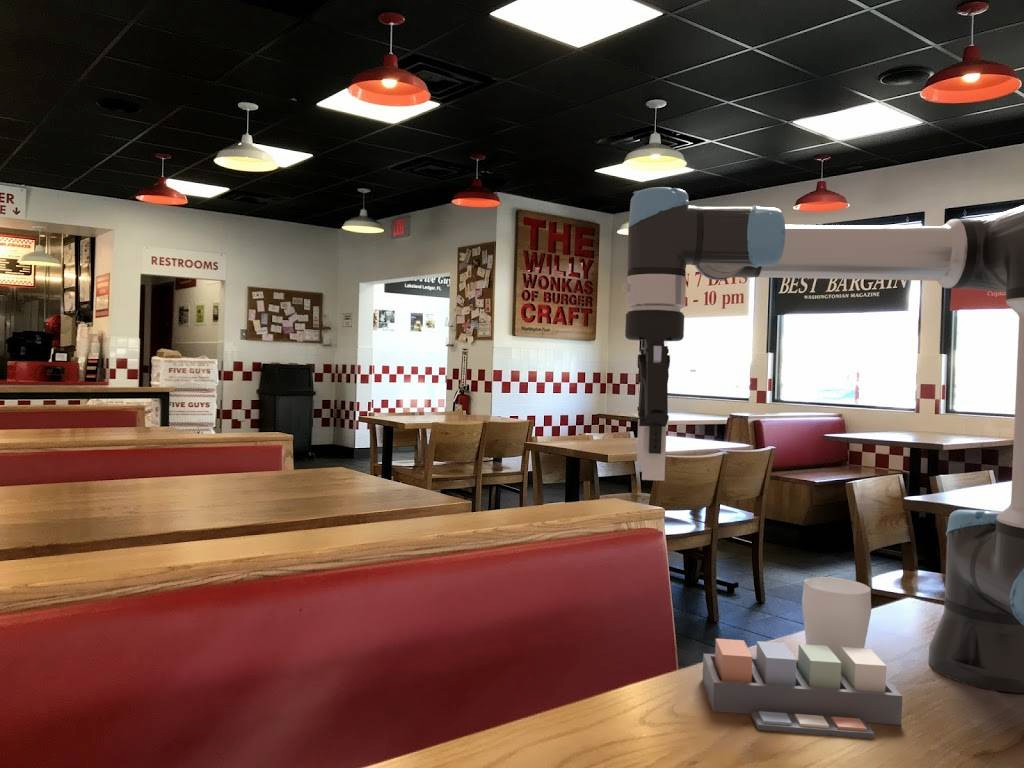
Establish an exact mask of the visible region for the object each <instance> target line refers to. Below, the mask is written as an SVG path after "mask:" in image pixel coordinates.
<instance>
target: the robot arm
mask: <svg viewBox="0 0 1024 768" xmlns="http://www.w3.org/2000/svg"><path fill="white" fill-rule="evenodd" d="M628 217H629V218H628V227H627V229H628V230H627V231H628V232H627V234H628V235H627V279H626V280H627V281H626V282H628V283H624V284H622V287H621V290H622V291H623V292H628V293H627V294H626V307H628V308H631V309H630V311H627V313H625V326H624V327H625V331H624V332H625V335H624V336H625V338H626V339H627V340H629V341H644V345H643V347H641V349H640V353H639V354H638V355H637V362H636V363H637V369H638V375H637V376H638V378H637V379H638V383H639V391H638V393H639V395H638V406H637V416H638V420H637V444H636V448H637V449H636V467H641V480H642V481H663V482H665V479H666V478H665V477H666V475H665V474H666V452H667V451H666V449H667V447H666V446H667V425H668V422H669V420H670V416H669V415H668V414H669V413H668V412H669V409H668V408H669V407H668V402H669V401H668V395H669V393H668V391H669V390H668V388H669V386H668V383H669V377H670V376H669V373H670V372H669V371H670V370H669V369H670V365H671V355H669V347H668V346H667V345H665V342H680V341H682V340H683V339H684V335H685V334H684V333H685V332H684V331H685V315H684V313H683V312H681V309H683V308H685V307H686V295H687V290H686V289H687V286H686V285H687V275H686V273H687V272H686V269H687V266H688V265H689V266H694V267H695V269H696V270H697V271H698V273H699V274H701V275H702V276H704V277H705V278H707V279H710V280H714V281H718V280H719V281H723V280H726V279H730V278H751V279H752V278H776V279H779V278H781V279H782V278H784V279H822V280H823V279H825V280H826V279H829V280H830V279H832V280H834V279H835V280H874V281H876V280H879V281H880V280H881V281H882V280H883V281H885V280H886V281H887V280H888V281H889V280H890V281H930V282H931V281H932V282H934V281H935V282H937V283H938V284H939V285H940V286H941V287H942V288H944V289H959V290H960V289H963V290H978V291H988V292H996V293H997V292H998V293H1005V303H1006V305H1007V306H1008V307H1010V308H1011V310H1013V311H1014V312H1015V313H1016V315H1018V332H1017V333H1018V334H1017V335H1018V338H1017V358H1016V361H1017V362H1016V382H1015V383H1016V385H1015V403H1014V405H1015V408H1014V424H1013V425H1014V428H1013V430H1014V431H1013V447H1012V448H1013V451H1012V452H1013V453H1012V469H1011V471H1012V472H1011V473H1012V474H1011V475H1012V476H1011V493H1010V496H1011V499H1010V504H1009V505H1008V507H1007V508H1006V509H1004V510H983V509H982V510H981V509H980V510H979V509H957V510H954V511H952V512H951V513H950V514H949V517H948V522H947V529H946V532H945V536H946V549H945V550H946V553H945V554H946V555H945V558H946V559H945V579H944V580H945V581H944V582H945V584H944V585H945V586H944V607H943V613H942V615H941V617H940V620H939V622H938V625H937V627H936V629H935V632H934V634H933V636H932V638H931V641H930V643H929V647H928V664H929V665H930V667H932V668H933V669H934V670H935V671H937V672H938V673H940V674H942V675H943V676H946V677H947V678H950V679H953V680H954V681H958V682H961V683H963V684H968V685H969V686H974V687H978V688H982V689H987V690H992V691H996V692H997V691H999V692H1002V693H1003V692H1005V693H1015V694H1024V204H1023V205H1019V206H1017V207H1014V208H1011V209H1008V210H1006V211H1003V212H999V213H996V214H992V215H987V216H983V217H982V216H981V217H974V218H952V219H949V220H948V221H946V223H944V224H943V225H941V226H937V225H935V226H933V225H932V226H930V225H925V226H924V225H910V226H909V225H843V224H842V225H839V224H838V225H837V224H836V225H833V224H832V225H827V224H826V225H823V224H818V225H816V224H812V225H811V224H806V225H805V224H786V219H785V216H784V213H783V212H782V210H781V209H780V208H776V207H768V206H767V207H765V206H759V205H753V206H696V205H691V204H690V201H689V194H688V193H687V192H686V190H683V189H681V188H676V187H673V188H672V187H669V186H668V187H666V186H658V187H648V188H644V189H640V190H637V192H635V193H634V194H633V195H632V197H631V199H630V204H629V216H628Z"/></svg>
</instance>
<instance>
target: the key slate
mask: <svg viewBox="0 0 1024 768" xmlns="http://www.w3.org/2000/svg"><path fill="white" fill-rule="evenodd" d="M755 657H756V668H757V670H758V672H759V674H760V676H761V678H762V680H763V682H764V684H776V685H790V686H796V662H797V660H798V659H797V658H796V657H795V655H794V654H793V652H792V650H790V647H789V646H788V645H787V643H786V642H777V641H773V642H772V641H760V640H759V641H758V640H757V641H756V656H755Z"/></svg>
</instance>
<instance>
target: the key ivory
mask: <svg viewBox="0 0 1024 768" xmlns="http://www.w3.org/2000/svg"><path fill="white" fill-rule="evenodd" d="M840 662H841V674H842V675H843V677H844V678H845V679H846V680H847V682H848V683H849V684H850V686H851V687H852V688H853V689H854V690H861V691H875V692H885V688H886V679H887V664H886V663H885V662H884V661H883V660H882V659H881V658H880V657H879V656H878V655H877V654H876V653H875V652H874V651H873V650H872V649H871V648H870V647H869V648H867V647H866V648H865V647H864V648H854V647H841V657H840Z"/></svg>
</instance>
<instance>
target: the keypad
mask: <svg viewBox="0 0 1024 768" xmlns="http://www.w3.org/2000/svg"><path fill="white" fill-rule="evenodd" d="M702 655H703V656H702V657H703V658H702V682H703V686H704V688H705V691H706V695H707V697H708V700H709V703H710V706H711V709H712V711H713V712H719V713H720V712H724V713H732V714H734V713H736V714H738V713H739V714H747V715H748V714H750V715H752V711H754V712H759V711H764V712H777V713H787V714H794V715H795V714H804V715H818V716H823V717H845V718H858V719H861V720H865V722H866V723H867V724H882V725H884V724H885V725H893V726H895V725H896V726H897V725H898V726H901V725H902V718H903V717H902V714H903V712H902V711H903V695H902V694H901V692H900V691H898V689H896V687H895V686H894V685H893V684H892V683H891V682H890V681H889V679H887V678H886V688H885V692H875V691H861V690H854V689H853V688H852V687H851V686H850V684H849V683H848V682H847V680H846V679H845V678H844V677H843V675H842V674H841V681H840V689H832V688H818V687H809V686H808V685H807V683H806V682H805V680H804V679H803V677H802V676H801V674H800V673H799V671H798V659H796V660H797V662H796V686H790V685H776V684H764V682H763V680H762V678H761V676H760V674H759V672H758V670H757V668H756V656H752V682H751V683H747V682H733V681H721V679H720V677H719V674H718V672H717V669H716V667H715V653H703V654H702Z"/></svg>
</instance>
